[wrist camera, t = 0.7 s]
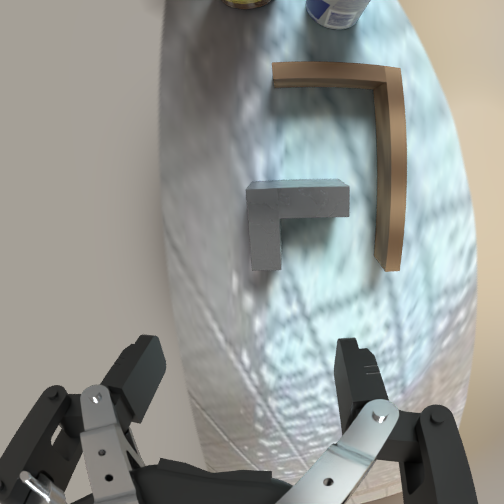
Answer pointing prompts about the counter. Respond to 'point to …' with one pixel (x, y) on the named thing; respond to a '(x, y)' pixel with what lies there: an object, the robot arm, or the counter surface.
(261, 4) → the sauce bottle
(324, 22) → the energy drink
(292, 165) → the counter surface
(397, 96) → the brown angled frame
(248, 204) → the bracket
